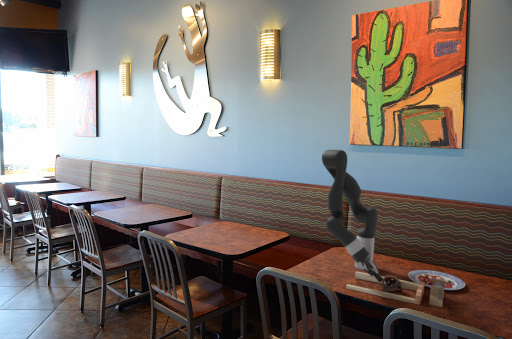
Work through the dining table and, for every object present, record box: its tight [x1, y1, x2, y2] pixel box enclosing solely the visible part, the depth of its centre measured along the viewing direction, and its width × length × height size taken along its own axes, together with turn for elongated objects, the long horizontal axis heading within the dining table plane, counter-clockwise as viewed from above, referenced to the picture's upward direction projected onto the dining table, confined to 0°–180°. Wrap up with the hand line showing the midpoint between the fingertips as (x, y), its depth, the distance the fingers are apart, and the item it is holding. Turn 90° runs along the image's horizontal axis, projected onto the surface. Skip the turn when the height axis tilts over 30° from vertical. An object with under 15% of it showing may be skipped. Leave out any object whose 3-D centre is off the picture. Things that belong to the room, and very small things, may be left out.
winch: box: [428, 278, 445, 308], centre depth 174 cm, size 15×5×9 cm, turn 152°
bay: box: [345, 270, 425, 306], centre depth 186 cm, size 18×32×4 cm, turn 62°
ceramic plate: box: [407, 269, 466, 291], centre depth 197 cm, size 26×26×3 cm
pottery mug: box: [380, 274, 404, 293], centre depth 185 cm, size 12×10×8 cm
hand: (381, 280), depth 186 cm, fingers closed
